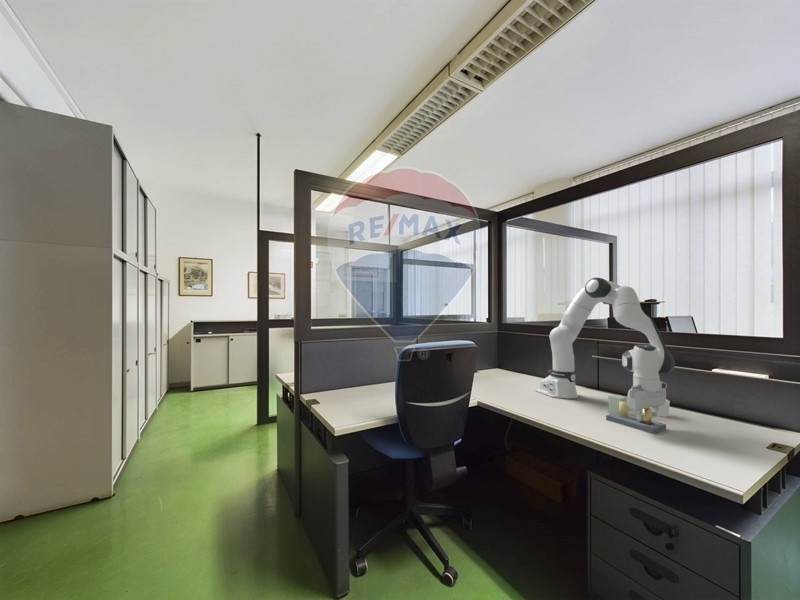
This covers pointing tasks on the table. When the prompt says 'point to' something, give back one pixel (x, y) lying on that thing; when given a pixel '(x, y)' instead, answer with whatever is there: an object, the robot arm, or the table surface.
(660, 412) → the shot glass
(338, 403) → the table surface
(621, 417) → the pin board
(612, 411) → the block
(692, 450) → the table surface
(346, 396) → the table surface
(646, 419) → the pin
